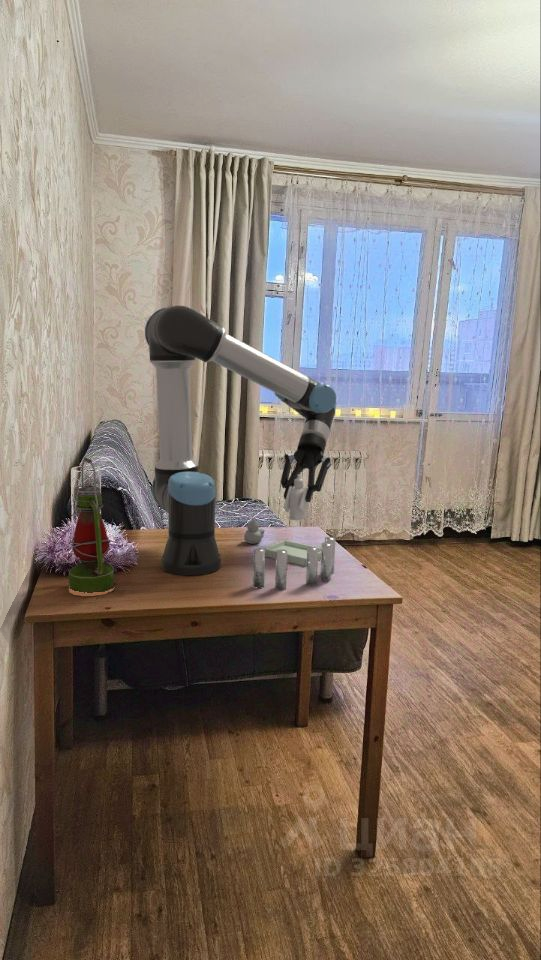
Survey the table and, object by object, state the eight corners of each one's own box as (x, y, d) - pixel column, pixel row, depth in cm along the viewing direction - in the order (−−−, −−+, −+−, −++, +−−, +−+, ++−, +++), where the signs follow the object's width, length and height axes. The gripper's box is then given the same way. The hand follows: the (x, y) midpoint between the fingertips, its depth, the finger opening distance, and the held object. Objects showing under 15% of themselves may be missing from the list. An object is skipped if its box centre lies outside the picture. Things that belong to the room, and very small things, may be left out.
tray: (262, 555, 172) (262, 548, 172) (284, 546, 181) (285, 539, 180) (306, 566, 164) (306, 559, 164) (327, 556, 173) (327, 549, 173)
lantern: (125, 593, 142) (123, 461, 137) (78, 602, 136) (74, 465, 131) (104, 575, 154) (100, 453, 148) (59, 583, 148) (54, 456, 142)
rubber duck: (239, 542, 184) (240, 515, 183) (258, 538, 188) (259, 512, 186) (249, 546, 180) (250, 519, 178) (269, 543, 183) (269, 516, 182)
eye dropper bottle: (285, 517, 171) (285, 473, 169) (303, 515, 174) (304, 472, 171) (292, 521, 167) (293, 476, 165) (311, 519, 170) (312, 475, 167)
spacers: (250, 585, 149) (251, 548, 148) (329, 570, 161) (331, 536, 160) (267, 595, 143) (268, 557, 141) (348, 579, 155) (349, 543, 154)
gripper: (344, 450, 179) (326, 520, 167) (288, 446, 184) (267, 514, 172) (340, 433, 173) (321, 505, 161) (282, 430, 178) (260, 499, 166)
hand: (293, 510), depth 166 cm, fingers closed on eye dropper bottle, 3 cm apart
